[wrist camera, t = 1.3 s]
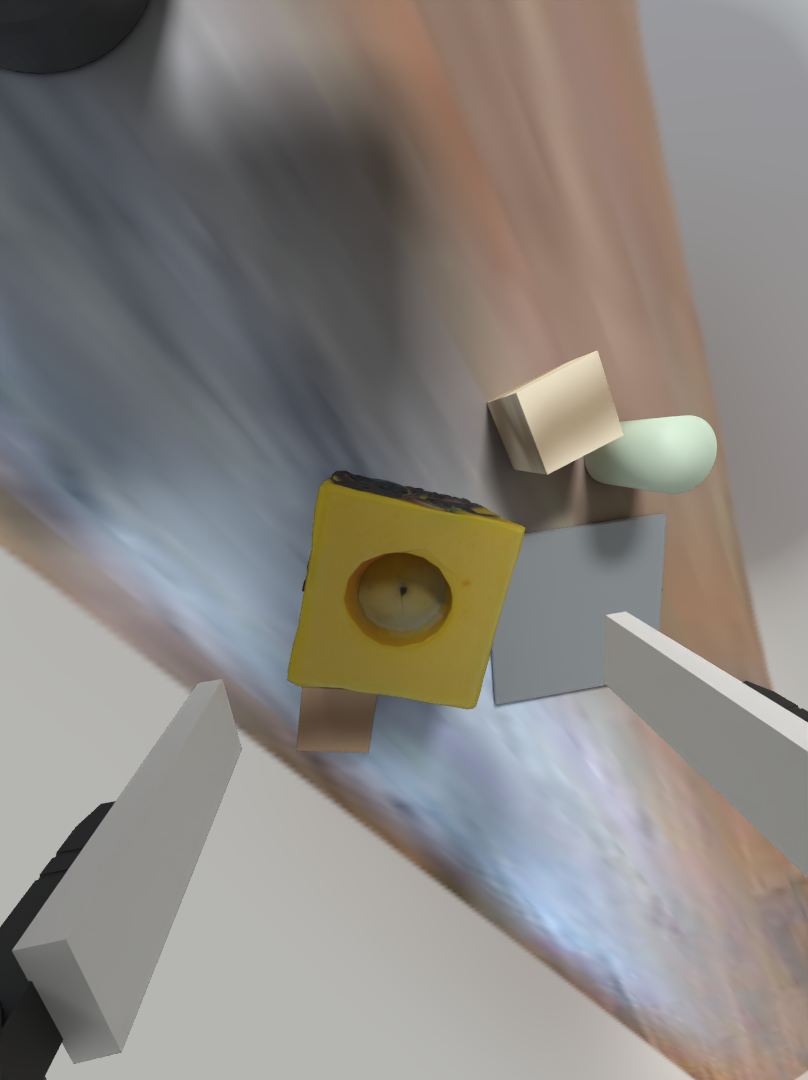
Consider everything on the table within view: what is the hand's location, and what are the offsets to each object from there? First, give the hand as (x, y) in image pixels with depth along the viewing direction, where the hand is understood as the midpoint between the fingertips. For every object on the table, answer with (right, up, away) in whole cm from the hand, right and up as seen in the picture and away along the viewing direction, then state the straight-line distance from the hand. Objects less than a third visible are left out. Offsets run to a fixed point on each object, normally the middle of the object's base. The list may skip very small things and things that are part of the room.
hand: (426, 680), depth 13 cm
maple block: (+8, +13, +13) cm, 20 cm away
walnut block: (-6, -7, +17) cm, 19 cm away
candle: (-2, +4, +15) cm, 15 cm away
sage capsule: (+14, +11, +14) cm, 23 cm away
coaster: (+13, -1, +17) cm, 22 cm away
